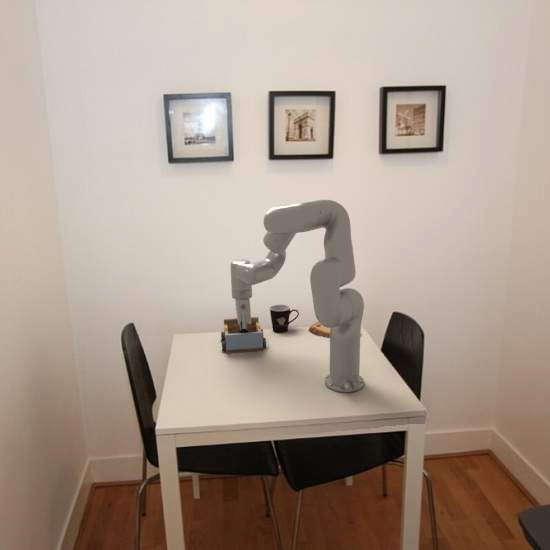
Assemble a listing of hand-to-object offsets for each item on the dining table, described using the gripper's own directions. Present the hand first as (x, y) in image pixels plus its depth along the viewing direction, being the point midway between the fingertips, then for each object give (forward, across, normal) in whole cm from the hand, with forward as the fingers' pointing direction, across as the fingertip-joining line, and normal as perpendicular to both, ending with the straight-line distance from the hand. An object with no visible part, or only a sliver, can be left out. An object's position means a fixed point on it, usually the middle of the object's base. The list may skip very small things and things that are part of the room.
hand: (243, 339), depth 179 cm
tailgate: (+3, -3, 0) cm, 4 cm away
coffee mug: (+5, +17, -18) cm, 25 cm away
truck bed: (+5, +6, 0) cm, 8 cm away
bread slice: (+5, +12, -38) cm, 40 cm away
